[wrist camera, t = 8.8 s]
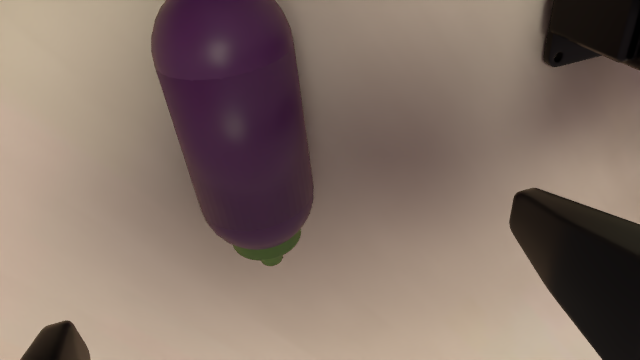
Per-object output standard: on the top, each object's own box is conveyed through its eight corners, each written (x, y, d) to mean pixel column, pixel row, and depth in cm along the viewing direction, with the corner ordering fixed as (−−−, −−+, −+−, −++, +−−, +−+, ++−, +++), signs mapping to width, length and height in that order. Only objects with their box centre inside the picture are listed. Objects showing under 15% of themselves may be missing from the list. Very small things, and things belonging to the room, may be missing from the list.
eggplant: (130, -25, 16) (130, 11, 12) (265, -49, 17) (301, -21, 13) (214, 240, 23) (229, 313, 20) (306, 214, 24) (337, 278, 20)
